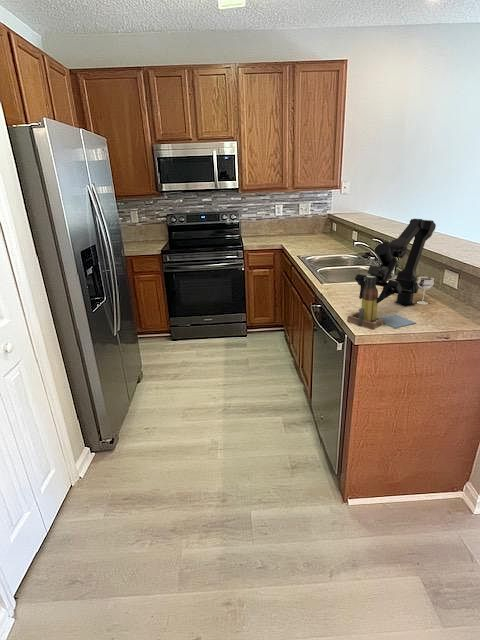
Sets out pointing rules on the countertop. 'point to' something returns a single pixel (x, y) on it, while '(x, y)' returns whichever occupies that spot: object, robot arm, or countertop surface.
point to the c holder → (359, 320)
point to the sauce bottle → (370, 299)
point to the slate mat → (396, 321)
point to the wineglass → (425, 286)
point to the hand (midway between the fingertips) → (368, 300)
